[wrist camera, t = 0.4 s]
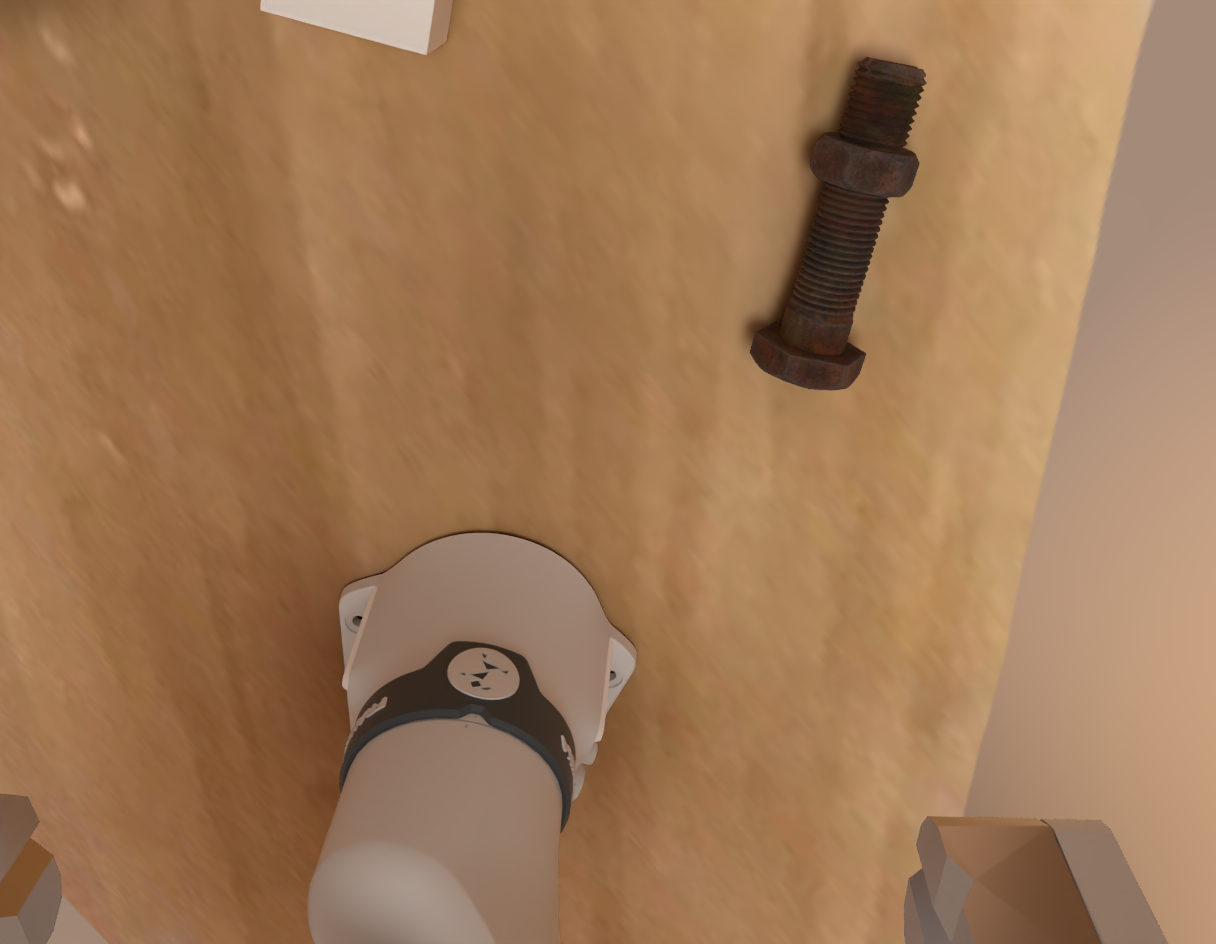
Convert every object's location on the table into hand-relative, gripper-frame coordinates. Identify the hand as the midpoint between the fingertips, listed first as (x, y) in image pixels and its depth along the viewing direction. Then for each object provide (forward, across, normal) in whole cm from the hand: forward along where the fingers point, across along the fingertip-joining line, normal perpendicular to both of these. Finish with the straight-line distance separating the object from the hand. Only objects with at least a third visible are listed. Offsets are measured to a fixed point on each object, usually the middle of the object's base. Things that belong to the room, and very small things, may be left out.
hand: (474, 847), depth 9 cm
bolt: (+45, +11, -7) cm, 47 cm away
